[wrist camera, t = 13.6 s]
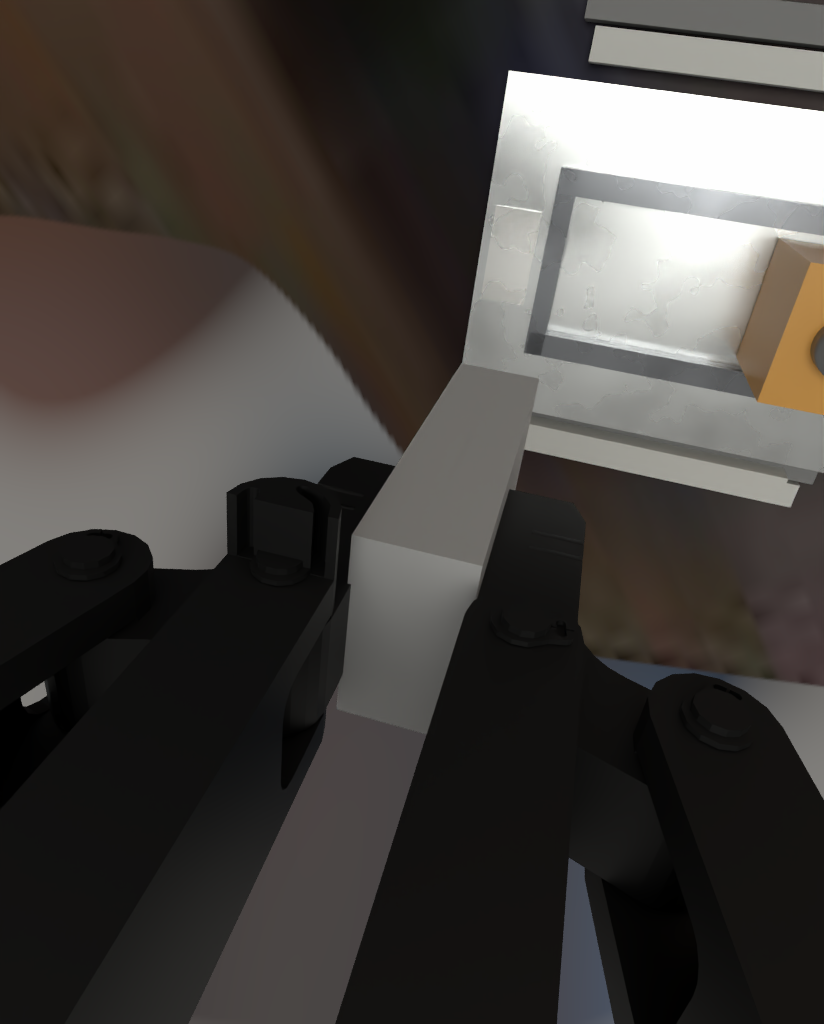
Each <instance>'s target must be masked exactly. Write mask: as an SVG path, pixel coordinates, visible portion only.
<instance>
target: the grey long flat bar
mask: <svg viewBox="0 0 824 1024" xmlns="http://www.w3.org/2000/svg"><path fill="white" fill-rule="evenodd" d="M584 18H585V20H586V22H595V23H603V24H612V25H620V26H629V27H637V28H646V29H654V30H663V31H671V32H680V33H689V34H697V35H706V36H714V37H723V38H731V39H740V40H748V41H757V42H765V43H774V44H783V45H791V46H800V47H808V48H817V49H824V5H817V4H808V3H799V2H789V1H780V0H588V2H587V7H586V12H585V17H584ZM589 63H592V64H599V65H607V66H615V67H623V68H631V69H639V70H647V71H655V72H663V73H671V74H678V75H686V76H694V77H702V78H710V79H718V80H726V81H734V82H742V83H750V84H757V85H765V86H773V87H781V88H789V89H797V90H805V91H813V92H821V93H824V52H818V51H809V50H801V49H792V48H784V47H775V46H767V45H758V44H750V43H741V42H733V41H724V40H716V39H707V38H699V37H690V36H682V35H673V34H665V33H656V32H648V31H639V30H631V29H622V28H614V27H605V26H597V25H596V27H595V32H594V37H593V42H592V47H591V52H590V56H589Z"/></svg>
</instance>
